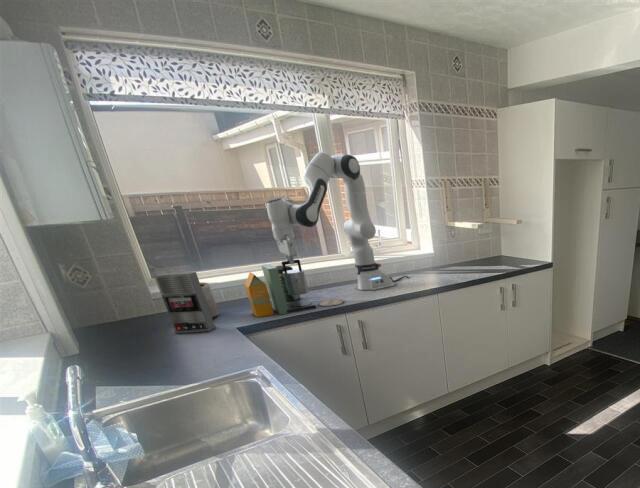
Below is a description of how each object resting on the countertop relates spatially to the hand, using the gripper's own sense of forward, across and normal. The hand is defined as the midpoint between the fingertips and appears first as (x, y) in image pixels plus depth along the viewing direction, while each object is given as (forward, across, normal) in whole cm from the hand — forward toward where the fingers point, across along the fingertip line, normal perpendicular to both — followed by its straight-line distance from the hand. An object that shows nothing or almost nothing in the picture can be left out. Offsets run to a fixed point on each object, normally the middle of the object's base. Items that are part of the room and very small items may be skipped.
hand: (291, 263), depth 210 cm
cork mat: (+22, -4, -14) cm, 26 cm away
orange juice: (+22, 0, +18) cm, 29 cm away
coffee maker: (+22, 0, +3) cm, 22 cm away
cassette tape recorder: (+22, -9, +47) cm, 53 cm away
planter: (+22, +14, +44) cm, 51 cm away
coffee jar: (+22, +21, 0) cm, 30 cm away
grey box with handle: (+15, -1, 0) cm, 15 cm away
